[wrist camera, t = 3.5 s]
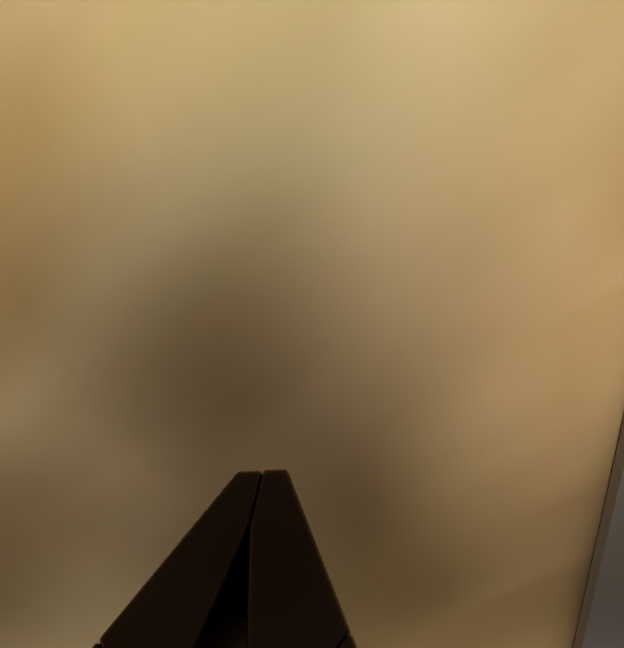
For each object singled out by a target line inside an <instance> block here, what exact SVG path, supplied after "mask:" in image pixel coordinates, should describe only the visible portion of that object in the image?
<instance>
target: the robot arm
mask: <svg viewBox="0 0 624 648" xmlns="http://www.w3.org/2000/svg"><path fill="white" fill-rule="evenodd" d="M92 648H357V647H356V645H355V642H354V639H353V637H352V636H351V635H350V630H349V627H348V625H347V622H346V620H345V617H344V614H343V612H342V609H341V607H340V604H339V602H338V599H337V596H336V594H335V591H334V589H333V586H332V584H331V581H330V578H329V576H328V573H327V571H326V568H325V566H324V563H323V560H322V558H321V555H320V553H319V550H318V547H317V545H316V542H315V540H314V537H313V535H312V532H311V529H310V527H309V524H308V522H307V519H306V517H305V514H304V511H303V509H302V506H301V504H300V501H299V499H298V496H297V493H296V491H295V488H294V486H293V483H292V481H291V478H290V475H289V473H288V471H287V470H284V469H282V470H266V471H264V472H263V474H262V472H260V471H243V472H239V473H237V474H236V475H235V476H234V477H233V478H232V480H231V481H230V482H229V483H228V484H227V486H226V487H225V488H224V489H223V490H222V492H221V493H220V494H219V495H218V496H217V498H216V499H215V500H214V501H213V502H212V504H211V505H210V506H209V507H208V509H207V510H206V511H205V512H204V513H203V515H202V516H201V517H200V518H199V519H198V521H197V522H196V523H195V524H194V525H193V527H192V528H191V529H190V530H189V531H188V533H187V534H186V535H185V536H184V538H183V539H182V540H181V541H180V542H179V544H178V545H177V546H176V547H175V548H174V550H173V551H172V552H171V553H170V554H169V556H168V557H167V558H166V559H165V560H164V562H163V563H162V564H161V565H160V567H159V568H158V569H157V570H156V571H155V573H154V574H153V575H152V576H151V577H150V579H149V580H148V581H147V582H146V583H145V585H144V586H143V587H142V588H141V589H140V591H139V592H138V593H137V594H136V596H135V597H134V598H133V599H132V600H131V602H130V603H129V604H128V605H127V606H126V608H125V609H124V610H123V611H122V612H121V614H120V615H119V616H118V617H117V618H116V620H115V621H114V622H113V623H112V625H111V626H110V627H109V628H108V629H107V631H106V632H105V633H104V634H103V635H102V637H101V638H100V644H99V643H96V644H95V645H94V646H93V647H92Z"/></svg>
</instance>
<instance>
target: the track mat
mask: <svg viewBox="0 0 624 648" xmlns="http://www.w3.org/2000/svg"><path fill="white" fill-rule="evenodd" d="M573 648H624V419H623V424H622V428H621V433H620V437H619V442H618V446H617V451H616V455H615V460H614V464H613V469H612V474H611V478H610V483H609V487H608V492H607V496H606V501H605V505H604V510H603V514H602V519H601V523H600V528H599V532H598V537H597V541H596V546H595V550H594V555H593V560H592V564H591V569H590V573H589V578H588V582H587V587H586V591H585V596H584V600H583V605H582V609H581V614H580V618H579V623H578V627H577V632H576V637H575V641H574V646H573Z"/></svg>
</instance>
